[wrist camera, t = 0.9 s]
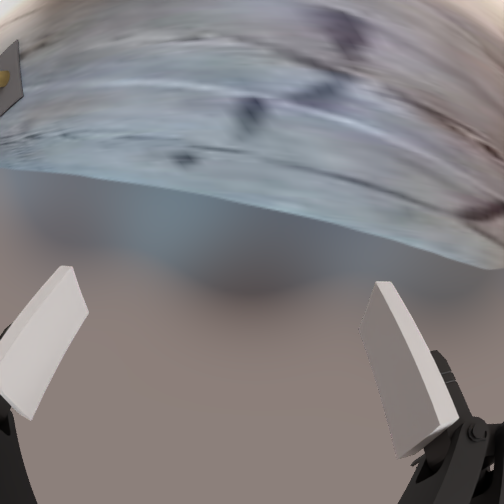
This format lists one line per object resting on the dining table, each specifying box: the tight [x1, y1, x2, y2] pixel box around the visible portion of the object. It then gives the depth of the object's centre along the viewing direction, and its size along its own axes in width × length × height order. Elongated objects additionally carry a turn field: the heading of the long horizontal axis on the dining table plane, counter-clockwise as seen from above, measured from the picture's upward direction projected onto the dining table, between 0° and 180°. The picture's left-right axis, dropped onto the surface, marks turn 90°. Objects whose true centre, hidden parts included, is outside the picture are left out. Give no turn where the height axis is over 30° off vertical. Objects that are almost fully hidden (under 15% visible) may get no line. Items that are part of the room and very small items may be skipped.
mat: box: [0, 40, 23, 116], centre depth 23 cm, size 12×8×1 cm, turn 12°
